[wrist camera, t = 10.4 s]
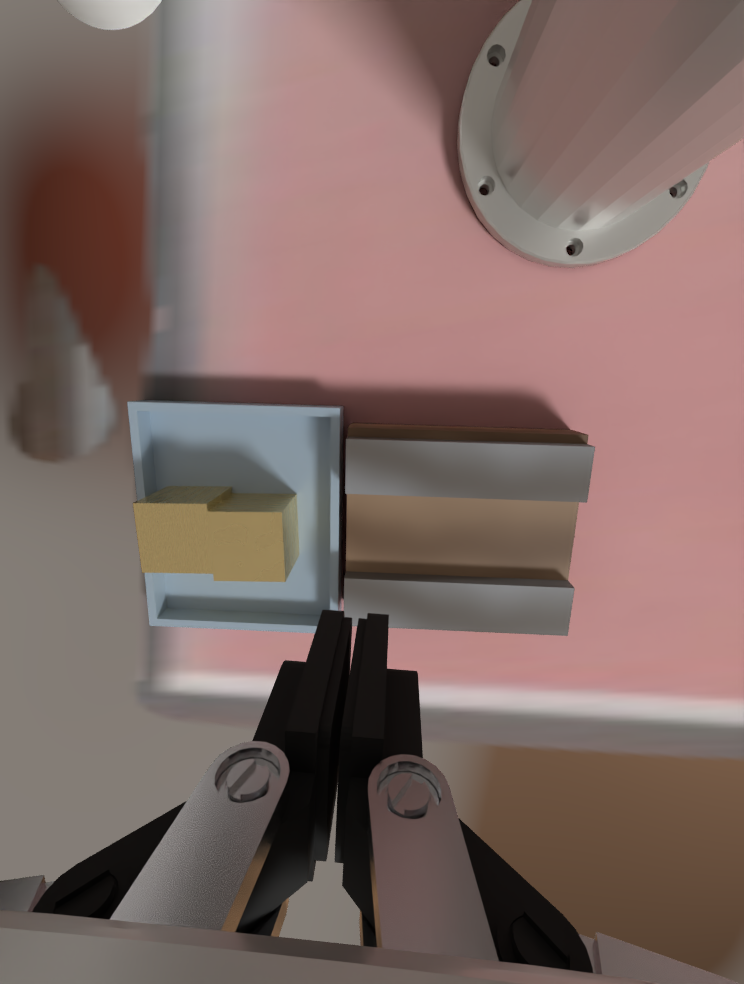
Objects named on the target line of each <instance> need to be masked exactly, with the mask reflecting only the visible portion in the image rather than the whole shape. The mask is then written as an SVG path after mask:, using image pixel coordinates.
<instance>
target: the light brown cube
mask: <svg viewBox="0 0 744 984" xmlns="http://www.w3.org/2000/svg"><path fill="white" fill-rule="evenodd" d="M207 513H208V524H209V535H210V546H211V557H212V567H213V578H214V581H250V582H286V580H287V578H288V576H289V574H290V572H291V570H292V568H293V566H294V564H295V562H296V561H297V559H298V557H299V533H298V510H297V494H268V493H232V494H231V495H229V496H228V497H227V498H225V499H224V500H222V501H221V502H220V503H218V504H217V505H216V506H214V507H213V508H212V509H210V510H209V511H207Z"/></svg>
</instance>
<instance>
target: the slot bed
mask: <svg viewBox="0 0 744 984" xmlns="http://www.w3.org/2000/svg"><path fill="white" fill-rule="evenodd" d="M587 442H588V435H587V434H584V433H580V432H577V431H573V430H562V429H530V428H497V427H465V426H432V425H400V424H368V423H351V424H350V426H349V427H348V437H347V438H346V478H345V494H347V526H346V573H345V577H344V614H345V617H351V618H352V626H357V625H358V619H359V618H364V619H367V614H368V613H375V614H388V615H389V625H388V628H407V629H429V630H451V631H473V632H495V633H517V634H539V635H561V636H568V630H569V623H570V616H571V609H572V602H573V595H574V587H573V586H572V585H571V583H570V582H569V581H568V576H569V569H570V562H571V555H572V548H573V541H574V534H575V527H576V520H577V513H578V505H579V502H587V499H588V492H589V485H590V478H591V471H592V464H593V457H594V451H595V447H594V446H591V445H588V444H587Z"/></svg>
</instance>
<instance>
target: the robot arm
mask: <svg viewBox="0 0 744 984" xmlns="http://www.w3.org/2000/svg"><path fill="white" fill-rule="evenodd" d="M492 62H493V63H495V64H496V65H497V66H496V67H495V66H492V65H490V63H492ZM742 139H744V0H520V1H519V2H517V3H516V4H515V5H514V6H513V7H512V8H511V9H510V10H509V11H508V12H507V13H506V14H505V15H504V16H503V17H502V19H501V20H500V21H499V23H498V24H497V26H496V27H495V28H494V30H493V31H492V32H491V34H490V35H489V37H488V38H487V39H486V41H485V43H484V45H483V47H482V49H481V51H480V53H479V55H478V57H477V59H476V61H475V63H474V65H473V67H472V70H471V73H470V76H469V79H468V82H467V86H466V89H465V92H464V95H463V100H462V105H461V109H460V114H459V120H458V136H457V150H458V160H459V169H460V174H461V177H462V181H463V184H464V188H465V191H466V195H467V197H468V199H469V201H470V203H471V205H472V207H473V209H474V211H475V213H476V215H477V217H478V218H479V220H480V221H481V222H482V223H483V225H484V226H485V227H486V229H487V230H488V231H489V232H490V234H491V235H492V236H493V237H494V238H495V239H497V240H498V241H499V242H500V243H501V244H503V245H504V246H505V247H506V248H507V249H508V250H510V251H512V252H514V253H516V254H517V255H519V256H521V257H523V258H525V259H527V260H529V261H532V262H536V263H539V264H543V265H546V266H550V267H564V268H576V267H583V266H591V265H596V264H599V263H602V262H605V261H608V260H611V259H614V258H617V257H619V256H621V255H622V254H624V253H626V252H628V251H630V250H633V249H635V248H636V247H638V246H639V245H641V244H642V243H644V242H645V241H647V240H648V239H650V238H651V237H653V236H654V235H656V234H657V233H658V232H659V231H660V230H661V229H662V228H663V227H665V226H666V225H667V224H668V223H669V222H670V221H671V220H672V219H673V218H674V217H675V216H676V215H677V214H678V213H679V211H680V210H681V209H682V208H683V206H684V205H685V204H686V203H687V201H688V200H689V199H690V198H691V196H692V195H693V193H694V191H695V189H696V188H697V186H698V184H699V182H700V180H701V178H702V176H703V175H704V173H705V171H706V169H707V167H708V164H709V162H710V161H711V160H712V159H714V158H715V157H717V156H718V155H720V154H721V153H723V152H724V151H726V150H727V149H729V148H730V147H732V146H733V145H735V144H736V143H738V142H739V141H741V140H742ZM480 188H486V190H487V192H488V194H487V195H486V196H484V195H481V194H480V192H479V189H480ZM670 191H671V192H672V196H671V195H670ZM566 247H570V248H571V249H572V255H571V256H569V255H568V253H567V252H566ZM388 625H389V615H388V614H375V613H368V614H367V619H364V618H359V619H358V625H357V632H356V638H355V644H354V651H353V657H352V663H351V670H350V657H351V636H352V618H351V617H345V614H344V611H336V610H322V613H321V616H320V619H319V622H318V625H317V629H316V632H315V635H314V638H313V642H312V645H311V648H310V651H309V654H308V658H307V661H306V662H299V661H287V660H285V661H284V662H283V664H282V666H281V668H280V671H279V674H278V676H277V679H276V681H275V684H274V687H273V689H272V692H271V694H270V697H269V699H268V702H267V705H266V707H265V710H264V712H263V715H262V717H261V720H260V723H259V725H258V728H257V730H256V733H255V736H254V738H253V741H251V742H244V743H240V744H238V745H235V746H233V747H230V748H229V749H227V750H226V751H224V752H223V753H221V754H220V755H219V756H218V757H217V758H216V759H215V760H214V762H213V763H212V764H211V765H210V767H209V769H208V770H207V771H206V773H205V775H204V776H203V777H202V779H201V781H200V782H199V784H198V785H197V787H196V788H195V790H194V791H193V793H192V794H191V796H190V797H189V799H188V800H187V801H186V802H184V803H182V804H181V805H179V806H177V807H175V808H174V809H172V810H170V811H169V812H167V813H165V814H163V815H162V816H160V817H158V818H156V819H155V820H153V821H151V822H150V823H148V824H146V825H144V826H142V827H141V828H139V829H137V830H136V831H134V832H132V833H130V834H129V835H127V836H125V837H123V838H122V839H120V840H118V841H116V842H115V843H113V844H112V845H110V846H108V847H106V848H104V849H103V850H101V851H99V852H97V853H96V854H94V855H92V856H90V857H89V858H87V859H86V860H84V861H82V862H80V863H78V864H77V865H75V866H74V867H72V868H71V869H70V870H68V871H67V872H66V873H64V874H62V875H61V876H60V877H59V878H58V879H57V880H56V881H53V882H45V877H44V875H39V876H32V877H25V878H19V879H11V880H4V881H0V984H738V983H736V982H734V981H732V980H730V979H727V978H724V977H721V976H718V975H716V974H713V973H710V972H707V971H704V970H701V969H699V968H696V967H693V966H690V965H688V964H685V963H682V962H679V961H676V960H674V959H670V958H668V957H665V956H662V955H660V954H657V953H654V952H651V951H649V950H646V949H643V948H640V947H637V946H635V945H632V944H629V943H626V942H623V941H621V940H618V939H615V938H612V937H609V936H606V935H604V934H601V933H598V932H596V936H595V939H591V938H588V937H586V936H583V935H580V934H578V933H577V931H576V929H575V928H574V927H573V926H572V925H571V924H570V922H569V921H568V920H567V919H566V918H565V917H564V916H563V914H562V913H560V912H559V911H558V910H557V909H556V908H555V907H554V906H553V905H552V904H550V902H549V901H548V900H546V899H545V898H544V897H543V896H542V895H541V894H540V893H539V892H538V891H537V890H536V889H535V888H534V887H532V886H531V885H530V884H529V883H528V882H527V881H526V880H525V879H524V878H523V877H522V876H521V875H519V874H518V873H517V872H516V871H515V870H514V869H513V868H512V867H511V866H510V865H509V864H508V863H506V862H505V861H504V860H503V859H502V858H501V857H500V856H499V855H498V854H497V853H496V852H495V851H494V850H493V849H491V848H490V847H489V846H488V845H487V844H486V843H485V842H484V841H483V840H482V839H481V838H480V837H478V836H477V835H476V834H475V833H474V832H473V831H472V830H471V829H470V828H469V827H468V826H467V825H465V824H464V823H463V822H462V821H461V820H460V819H459V818H458V815H457V812H456V808H455V805H454V802H453V798H452V795H451V791H450V787H449V785H448V783H447V780H446V778H445V776H444V775H443V774H442V773H441V771H440V770H439V769H438V768H437V767H436V766H435V765H433V764H432V763H430V762H429V761H427V760H426V759H423V755H422V737H421V720H420V703H419V686H418V673H417V671H408V670H396V669H387V649H388ZM337 785H338V797H337V821H336V844H335V862H337V863H343V864H344V865H343V883H342V886H343V887H344V888H345V890H346V891H347V893H348V894H349V895H350V897H351V898H352V899H353V901H354V902H355V904H356V905H357V906H358V908H359V909H360V917H359V928H360V946H358V945H348V944H339V943H329V942H320V941H311V940H302V939H293V938H282V937H279V935H280V931H281V929H282V925H283V922H284V920H285V917H286V913H287V908H288V903H289V897H290V896H291V895H292V894H294V893H295V892H296V891H297V890H298V889H300V888H301V887H302V886H303V885H304V884H306V883H307V881H313V876H314V870H315V864H316V860H317V861H326V859H327V854H328V847H329V840H330V833H331V827H332V819H333V813H334V806H335V799H336V792H337Z"/></svg>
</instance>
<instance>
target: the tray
mask: <svg viewBox="0 0 744 984" xmlns="http://www.w3.org/2000/svg"><path fill="white" fill-rule="evenodd" d="M127 404H128V414H129V424H130V434H131V444H132V454H133V464H134V474H135V484H136V494H137V501H138V500H140V499H142V498H144V497H146V496H149V495H151V494H153V493H155V492H157V491H159V490H161V489H163V488H165V487H167V486H232V493H268V494H297V510H298V533H299V557H298V559H297V561H296V562H295V564H294V566H293V568H292V570H291V572H290V574H289V576H288V578H287V580H286V582H250V581H214V578H213V574H196V573H145V583H146V593H147V603H148V613H149V623H150V626H169V627H191V628H213V629H234V630H256V631H278V632H300V633H315V632H316V629H317V625H318V622H319V619H320V616H321V613H322V610H336V611H341V586H342V499H343V411H344V406H331V405H298V404H264V403H230V402H196V401H163V400H140V401H130V402H127Z"/></svg>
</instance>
